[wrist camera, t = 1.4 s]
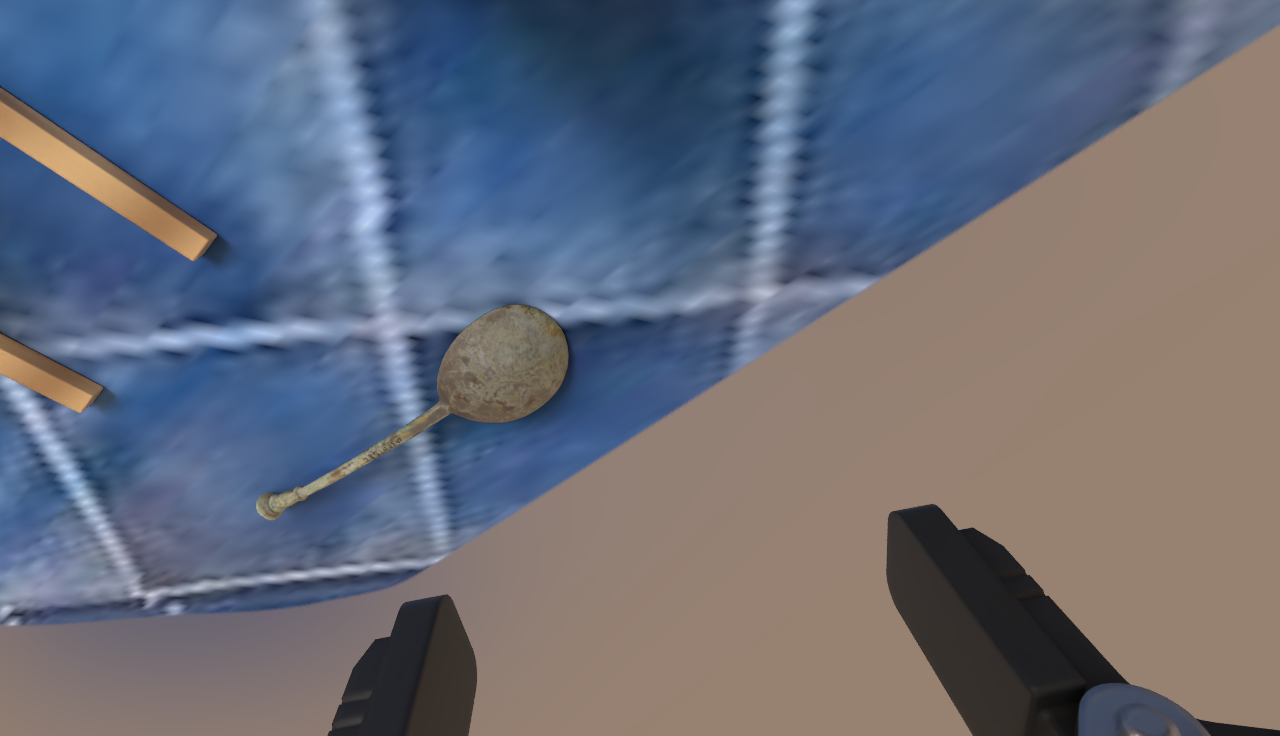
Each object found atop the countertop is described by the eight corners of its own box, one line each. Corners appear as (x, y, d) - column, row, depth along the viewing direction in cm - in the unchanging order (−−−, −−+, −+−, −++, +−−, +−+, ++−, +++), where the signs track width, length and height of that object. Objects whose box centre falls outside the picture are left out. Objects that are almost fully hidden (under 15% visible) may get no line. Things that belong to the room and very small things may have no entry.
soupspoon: (590, 362, 37) (527, 276, 34) (593, 389, 34) (524, 297, 31) (309, 530, 40) (228, 464, 37) (290, 567, 37) (200, 499, 34)
